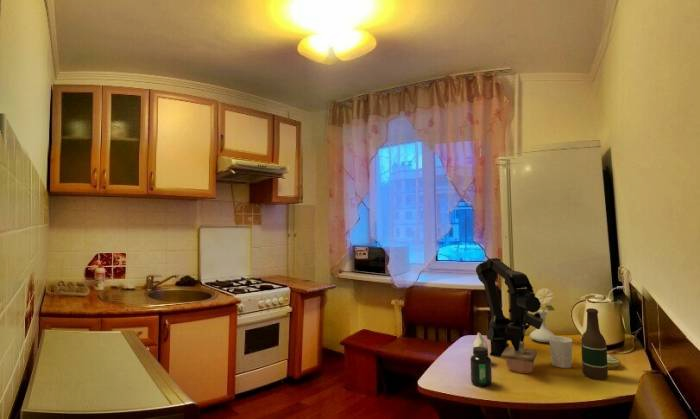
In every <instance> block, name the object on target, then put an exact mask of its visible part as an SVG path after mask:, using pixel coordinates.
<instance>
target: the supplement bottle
mask: <svg viewBox="0 0 700 419" xmlns="http://www.w3.org/2000/svg"><path fill="white" fill-rule="evenodd" d="M472 354H473V355H472V356H471V357H470V378H471V379H470V381H471V383H472V385H473V386H475V387H479V388H490V387H491V386H492V383H493V379H492V378H493V377H492V375H493V374H492V359H491V358H490V357H489V348H488V349H487V348H484V347H474V348H472Z"/></svg>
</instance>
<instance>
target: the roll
mask: <svg viewBox="0 0 700 419" xmlns="http://www.w3.org/2000/svg"><path fill="white" fill-rule="evenodd" d="M475 338H476V339H475V340H474V341H473V345H472V347H473V348H474V347H484V348H487V349H488V350H489V346H488V342H487V340H485V338H484V337H483V335H482V334H481V333H480V332H477V334H476V337H475ZM473 348H472V349H473Z"/></svg>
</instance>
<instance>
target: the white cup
mask: <svg viewBox="0 0 700 419" xmlns="http://www.w3.org/2000/svg"><path fill="white" fill-rule="evenodd" d="M548 343H549V350H550V359H551V364H552V366H554V367H556V368H562V369H570V368H572V362H573V361H572V359H573V339H571V338H570V337H566V336H560V335H555V336H551V337H549V342H548Z"/></svg>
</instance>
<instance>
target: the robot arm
mask: <svg viewBox="0 0 700 419" xmlns="http://www.w3.org/2000/svg"><path fill="white" fill-rule="evenodd" d="M475 272H476V275H477V278H478V280H479V281H480V283H482V284H483V287H484V290H485V295H486V299H487V303H488V307H489V312H490V321H489V324H488V325H489V328H488V330H487V331H486V339H487V340H489V341H490V353H489V355H490V356H494V357H500V358H502V357H501V354H502V353H503V351H504V350H505V349H506V347H507V346H509V347H510V343H511V345H512V347H514V349H515V351H519V346H520V341H523V342H525V341H524V340H525V336H526V331H527V330H528V329H529V328H530V327H532V328H535V330H536V329H540V328H541V325H542V323H543V318H541V314H539V313H537V311H538V310H541V307H540V306H542V304H541V303H540V301H539V299H538V298H537V297H535V296H536V293H534V290H533V289H534V287H533V286H532V284H531V282H530V279H529V278H528V276H527V274H525V273H524V272H521V271H518V270H517V271H516V270H514V269H512V268H511V267H510V266H508V265H506V263H504V262H503V261H502V260H501V259H500V258H498V257H497V258H491V257H490V258H488V259H486V260H485V261H483V262H480V263H479V264H478V265H477V266H476V268H475ZM498 275H499V276H501V278H503V280H504V284H505V285H506V286H507V288H508V289H507V290H506V293H508V294H509V308H508V312H509V316H510V317H506V316H505V315H504V312H503V308H502V305H501V300H500V297H499V292H498V288H497V284H496V281H497V277H498ZM533 313H534V314H533ZM508 341H510V343H508Z"/></svg>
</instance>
